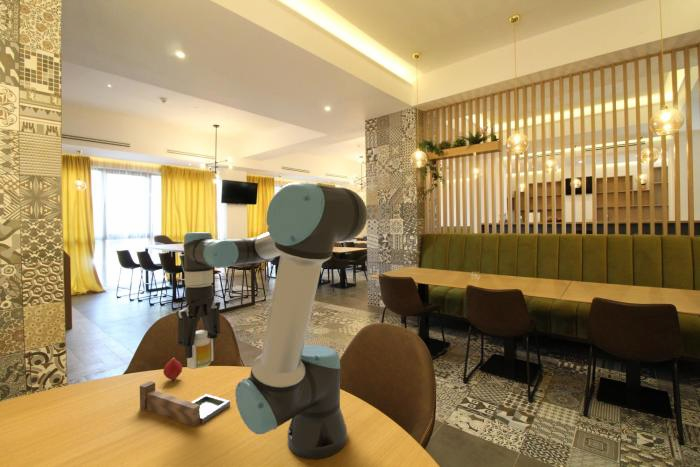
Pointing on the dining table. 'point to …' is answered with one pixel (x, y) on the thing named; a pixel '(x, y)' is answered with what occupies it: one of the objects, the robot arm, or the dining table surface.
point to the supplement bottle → (202, 349)
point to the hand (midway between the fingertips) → (200, 363)
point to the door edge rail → (168, 405)
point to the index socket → (210, 406)
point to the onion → (172, 369)
